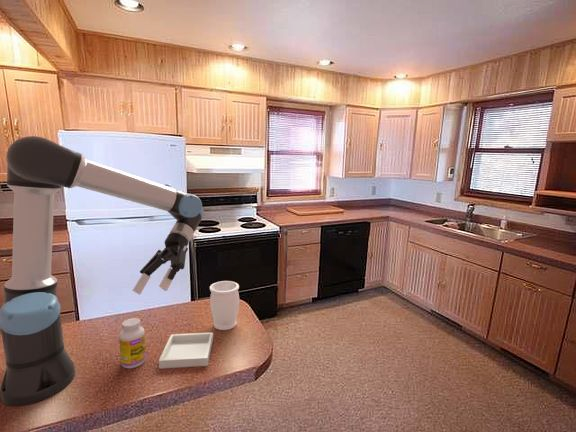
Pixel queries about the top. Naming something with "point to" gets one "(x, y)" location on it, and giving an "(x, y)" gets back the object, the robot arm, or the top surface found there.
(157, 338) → the top surface
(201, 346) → the tray
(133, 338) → the supplement bottle
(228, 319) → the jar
